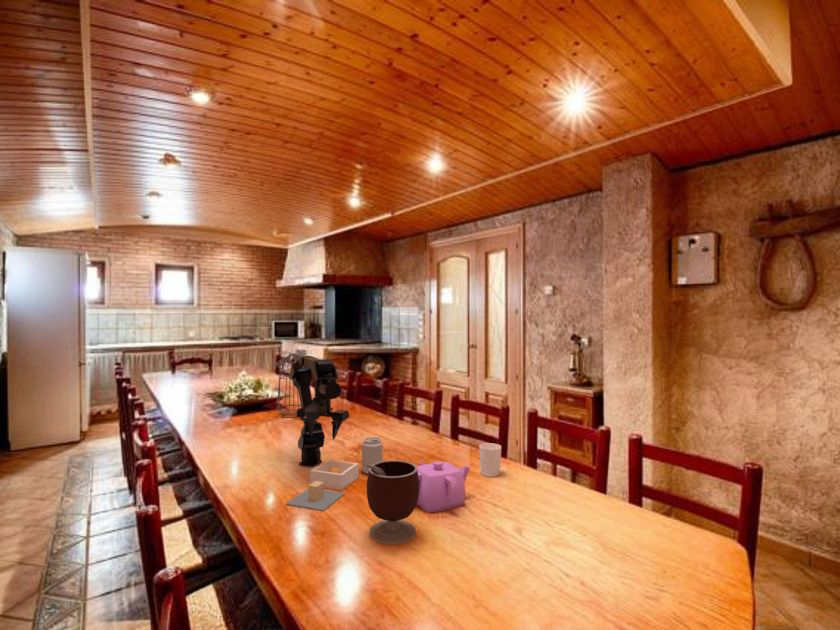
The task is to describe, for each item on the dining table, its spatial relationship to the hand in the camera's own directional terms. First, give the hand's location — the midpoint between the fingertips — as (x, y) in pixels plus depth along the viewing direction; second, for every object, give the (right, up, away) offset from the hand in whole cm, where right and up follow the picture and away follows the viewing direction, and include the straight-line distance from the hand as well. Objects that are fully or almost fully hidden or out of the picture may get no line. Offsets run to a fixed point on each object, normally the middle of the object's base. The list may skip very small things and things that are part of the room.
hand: (322, 437), depth 161 cm
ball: (+6, -10, -7) cm, 14 cm away
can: (+18, -13, +2) cm, 22 cm away
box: (+6, -13, -7) cm, 16 cm away
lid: (+3, -14, -22) cm, 26 cm away
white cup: (+61, -14, +1) cm, 62 cm away
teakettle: (+41, -14, -22) cm, 49 cm away
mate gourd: (+27, -14, -43) cm, 53 cm away
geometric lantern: (-36, -12, +89) cm, 97 cm away
